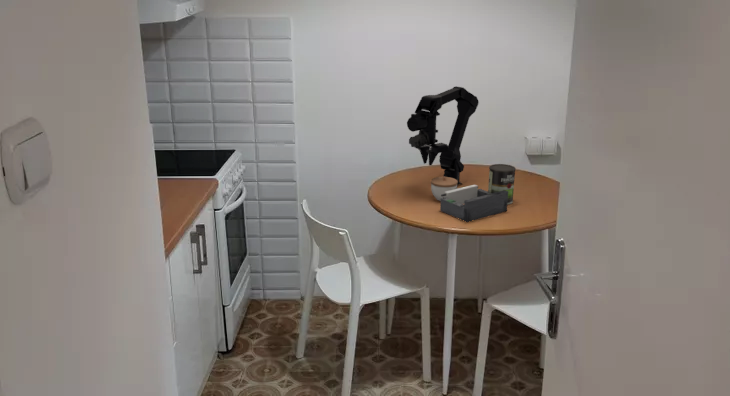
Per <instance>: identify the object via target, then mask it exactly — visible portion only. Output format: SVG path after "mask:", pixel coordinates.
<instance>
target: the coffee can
mask: <svg viewBox="0 0 730 396" xmlns="http://www.w3.org/2000/svg"><path fill="white" fill-rule="evenodd" d="M488 168H489V169H488V170H489V171H488V172H489V173H488V174H489V175H488V187H487V189H488V190H487V191H488V192H490V193H495V192H499V191H503V190H505V191H508V203H507V206H508V205H511V204H513V202H514V189H515V178H516V177H515V175H516V167H515V166H513V165H511V164H505V163H495V164H491V165H489V167H488Z"/></svg>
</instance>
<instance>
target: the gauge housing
mask: <svg viewBox="0 0 730 396" xmlns="http://www.w3.org/2000/svg"><path fill="white" fill-rule="evenodd" d="M507 203H508V191H505V190H503V191H499V192H495V193H490V192H488V190H485V189H482V188H478V192H477V197H476V198H472V199H468V200H465V201H464V204H461V203H458V202H456V201H454V200H452V199H448V198H446V197H443V198H441V201H440V204H439V205H440V209H439V210H440V211H439V212H442V213H445V214H447V215H449V216H451V215H452V216H451V217H453V216H454V217H453V218H456V219H458V218H459V219H458V220H460V219H461V221H463V220H464V222H465V221H466V223H470V222H473V221H472V220H474V221H477V220H480V219H484V218H487V217H491V216H494V215H498V214H501V213H505V212H507V211H508V205H507ZM469 221H470V222H469Z"/></svg>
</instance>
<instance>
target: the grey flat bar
mask: <svg viewBox="0 0 730 396" xmlns="http://www.w3.org/2000/svg"><path fill="white" fill-rule="evenodd" d="M478 189H479V185H477V184H471V185H467V186H464V187H457V189H454V190H450V191H446V192H444V194H442V195H441V196H444V197H446V198H448V199H452V200H454V201H456V202H458V203H461V204H463V205H464V201H465V200H468V199H472V198H476V197H477V192H478Z"/></svg>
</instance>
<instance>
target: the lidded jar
mask: <svg viewBox="0 0 730 396" xmlns="http://www.w3.org/2000/svg"><path fill="white" fill-rule="evenodd" d="M443 176H444V175H443ZM443 176H438V177H437V176H436V177H434V178H432V179H431V180H430V190H431V194H432V195H433V197H434V198H435V200H437V201H439V202H441V198H443V197H444V196H441V195H442V194H444V192H446V191H450V190H454V189H458V185H457V184H458V181H457V180H456V179H454V178H450V177H445V176H444V177H443Z"/></svg>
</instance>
